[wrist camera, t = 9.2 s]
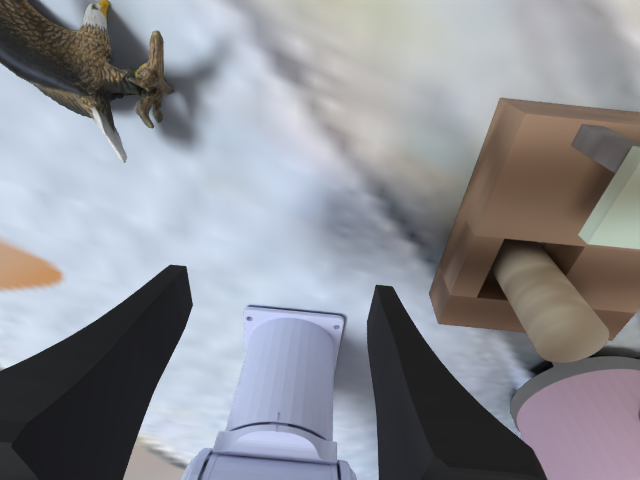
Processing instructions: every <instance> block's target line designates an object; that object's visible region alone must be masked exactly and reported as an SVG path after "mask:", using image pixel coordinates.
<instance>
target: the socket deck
mask: <svg viewBox="0 0 640 480" xmlns="http://www.w3.org/2000/svg"><path fill="white" fill-rule="evenodd" d="M504 239H514V240H524V241H534V242H545V243H544V245H543V247H542V248H543V249H544V250H545V252H546V253H547V254H548V255H549V257H550V258H551V259H552V260H553V262H554V263H555V264H556V265H557V266H558V268H559V269H560V270H561V271H562V273H563V274H564V275H565V276H566V278H567V279H568V280H569V281H570V282H571V284H572V285H573V286H574V287H575V289H576V290H577V291H578V292H579V294H580V295H581V296H582V297H583V298H584V300H585V301H586V302H587V303H588V305H589V306H590V307H591V308H592V310H593V311H594V312H595V313H596V315H597V316H598V317H599V318H600V319H601V321H602V322H603V323H604V324H605V326H606V327H607V328H608V330H609V339H608V340H610V341H612V340H613V339H614V338H615V336H616V335H617V334H618V333H619V332H620V331H621V329H622V328H623V327H624V326H625V325H626V324H627V322H628V321H629V320H630V319H631V318H632V317H633V316H634V314H635V313H636V312H637V311H638V310H639V309H640V113H639V112H629V111H619V110H610V109H600V108H591V107H581V106H572V105H562V104H553V103H543V102H534V101H524V100H515V99H505V98H500V100H499V102H498V105H497V108H496V111H495V113H494V116H493V119H492V122H491V124H490V127H489V130H488V133H487V135H486V138H485V141H484V144H483V146H482V149H481V152H480V155H479V157H478V160H477V163H476V166H475V168H474V171H473V174H472V177H471V179H470V182H469V185H468V188H467V190H466V193H465V196H464V199H463V201H462V204H461V207H460V210H459V212H458V215H457V218H456V221H455V223H454V226H453V229H452V232H451V234H450V237H449V240H448V243H447V245H446V248H445V251H444V254H443V256H442V259H441V262H440V265H439V267H438V270H437V273H436V275H435V278H434V281H433V284H432V286H431V289H430V292H429V295H430V298H431V302H432V305H433V308H434V312H435V315H436V318H437V321H438V324H444V325H454V326H465V327H475V328H486V329H496V330H506V331H517V332H526V331H525V329H524V328H523V326H522V324H521V322H520V320H519V319H518V317H517V315H516V313H515V312H514V310H513V308H512V306H511V304H510V303H509V301H508V299H507V297H506V295H505V294H504V292H503V290H502V288H501V286H500V285H499V283H498V281H497V279H496V277H495V276H494V274H493V272H492V271H490V268H491V266H492V264H493V262H494V260H495V258H496V256H497V254H498V252H499V249H500V247H501V245H502V243H503V241H504Z"/></svg>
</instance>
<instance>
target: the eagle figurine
mask: <svg viewBox="0 0 640 480" xmlns="http://www.w3.org/2000/svg"><path fill="white" fill-rule="evenodd" d="M109 5H110V2H109V1H107V0H102V1H100V2H98V3H96V4H93V3H92V4H90V5H89V6H88V7H87V9H86V12H85V15H84V18H83V22H82V25H81V28H80V29H79V30H78V31H72V30H67V29H65V28H63V27H61V26H59V25H57V24H54V23H52V22H51V21H49V20H48V19H46V18H45V17H43V16H42V15H41V14H40V13H39V12H37V11H36V10H35V9H34V8H33V7H32V6H31V5H30V4H29V3H28V1H27V0H0V63H1V64H3V65H4V66H5V67H7V68H8V69H9V70H10V71H12V72H13V73H15V74H16V75H17V76H19V77H20V78H22V79H24V80H26V81H28V82H30V83H31V84H33V85H34V86H36V87H37V88H38V89H39V90H40V91H41V92H43V93H44V94H45V95H46V96H48V97H51V98H52V100H54V101H56V102H58V104H60V105H62V106H65V107H66V108H67V109H69V110H71V111H74V112H75V113H77V114H81V115H82V116H87V117H89V118H93V120H94V121H95V122H96V123H97V125H98V126H99V127H100V129H101V130H102V132H103V133H104V135H105V136H106V137H107V139H108V140H109V142H110V144H111V145H112V147H113V148H114V150H115V151H116V153H117V154H118V156H119V158H120V159H121V161H122V162H124V163H125V162H126V159H127V156H126V153H125V151H124V149H123V146H122V142H121V139H120V136H119V134H118V132H117V130H116V128H115V126H114V121H113V116H112V112H111V106H110V101H112V100H115V99H116V98H123V97H124V96H127V95H142V96H141V98H140V99H139V100H138V101H137V103H136V105H135V112H136V113H137V114H138V115H139V116H140V118H141V119H142V120H143V122H144V123H145V124H146V126H147V127H149V128H154V125H153V123H152V121H151V120H150V118H149V110H150V108H151V106H153V116H154V118H155V119H156V121H157V122H158V123H160V122H161V121H162V120H163V115H162V113H161V111H160V108H161V99H162V95H164V94H172V93H173V88H172V87H170V86H169V85H167V84H166V80H165V78H164V77H163V72H164V61H163V38H162V36H161V34H160V32H159V31H154V32H152V35H151V38H150V49H149V56H150V58H149V60H148V61H147V63H145V64H143V65H142V66H140V67H139V69H136V68H130V67H129V68H126V69H123V70H121V69H119V68H117V67H114V66H113V60H112V48H111V43H110V39H109V35H108V31H107V15H106V14H107V10H108V7H109Z"/></svg>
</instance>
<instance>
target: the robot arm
mask: <svg viewBox="0 0 640 480" xmlns="http://www.w3.org/2000/svg"><path fill="white" fill-rule="evenodd" d="M192 306H193V303H192V297H191V291H190V285H189V279H188V273H187V268H186V266H179V265H169V266H168V267H167V268H165V269H164V270H163V271H161V272H160V273H159V274H158V275H156V276H155V277H154V278H153V279H151V280H150V281H149V282H148V283H146V284H145V285H144V286H143V287H141V288H140V289H139V290H138V291H136V292H135V293H134V294H132V295H131V296H130V297H128V298H127V299H126V300H124V301H123V302H122V303H120V304H119V305H117V306H116V307H115V308H113V309H112V310H110V311H109V312H108V313H106V314H105V315H103V316H102V317H100V318H99V319H97V320H96V321H94V322H93V323H91V324H90V325H88V326H87V327H85V328H83V329H82V330H80V331H78V332H77V333H75V334H73V335H71V336H70V337H68V338H66V339H64V340H63V341H61V342H59V343H57V344H55V345H53V346H51V347H49V348H47V349H46V350H44V351H42V352H40V353H38V354H36V355H34V356H32V357H30V358H28V359H26V360H24V361H21V362H19V363H17V364H15V365H13V366H11V367H8V368H6V369H4V370H2V371H0V480H123V477H124V474H125V471H126V468H127V465H128V462H129V459H130V455H131V453H132V449H133V447H134V444H135V441H136V438H137V436H138V433H139V430H140V427H141V424H142V422H143V419H144V416H145V414H146V411H147V408H148V406H149V403H150V400H151V398H152V395H153V393H154V391H155V388H156V386H157V384H158V382H159V380H160V378H161V376H162V374H163V372H164V370H165V368H166V366H167V364H168V362H169V360H170V358H171V356H172V354H173V352H174V350H175V348H176V346H177V344H178V342H179V340H180V338H181V336H182V333H183V331H184V329H185V327H186V324H187V321H188V318H189V315H190V312H191V309H192ZM243 320H244V339H245V358H244V362H243V366H242V370H241V373H240V377H239V381H238V385H237V388H236V392H235V396H234V400H233V404H232V407H231V411H230V415H229V419H228V423H227V426H226V430H225V431H219V432H218V434H217V438H216V441H215V445H214V448H204V449H203V450H201V451H200V452H199V454H198V455H197V456H196V457H195V458H193V459H192V460H191V462H190V463H189V464H188V466H187V468H186V470H185V472H184V474H183V476H182V479H181V480H357V478H356V475H355V473H354V472H353V470H352V469H351V468H350V466H349V464H348V462H347V461H344V460H338V461H337V443H336V442H333V380H334V373H335V368H336V362H337V357H338V351H339V346H340V341H341V335H342V330H343V325H344V318H343V317H342V316H339V315H330V314H320V313H309V312H299V311H289V310H278V309H268V308H258V307H246V308H245V309H244V312H243ZM336 325H338V326H336ZM367 344H368V354H369V361H370V368H371V375H372V382H373V389H374V396H375V404H376V414H377V436H378V465H379V480H548V479H547V477H546V475H545V472H544V470H543V468H542V466H541V463H540V462H539V460H538V458H537V456H536V454H535V452H534V450H533V449H532V448H531V447H530V446H529V445H527V444H526V443H525V442H524V441H523V440H521V439H520V438H519V437H518V436H516V435H515V434H514V433H513V432H511V431H510V430H509V429H508V428H506V427H505V426H504V425H503V424H502V423H500V422H499V421H498V420H497V419H496V418H495V417H494V416H493V415H492V414H490V413H489V412H488V411H487V410H486V409H485V408H484V407H483V406H482V405H481V404H480V403H479V402H478V401H477V400H476V399H475V398H474V397H473V396H472V395H471V394H470V393H469V392H468V391H467V390H466V389H465V388H464V387H463V386H462V385H461V384H460V383H459V382H458V381H457V380H456V379H455V378H454V376H453V375H452V374H451V373H450V372H449V371H448V369H447V368H446V367H445V366H444V365H443V364H442V362H441V361H440V360H439V359H438V357H437V356H436V355H435V353H434V352H433V351H432V349H431V348H430V347H429V345H428V344H427V342H426V341H425V340H424V338H423V337H422V335H421V334H420V332H419V331H418V329H417V328H416V326H415V324H414V323H413V321H412V320H411V318H410V316H409V315H408V313H407V311H406V310H405V308H404V306H403V304H402V303H401V301H400V299H399V297H398V295H397V294H396V292H395V290H394V288H393V287H392V286H384V285H376V287H375V291H374V295H373V299H372V303H371V307H370V312H369V316H368V320H367Z"/></svg>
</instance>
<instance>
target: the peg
mask: <svg viewBox="0 0 640 480" xmlns="http://www.w3.org/2000/svg"><path fill="white" fill-rule="evenodd" d="M491 270H492V272H493V274H494V276H495V277H496V279H497V281H498V283H499V285H500V286H501V288H502V290H503V292H504V294H505V295H506V297H507V299H508V301H509V303H510V304H511V306H512V308H513V310H514V312H515V313H516V315H517V317H518V319H519V320H520V322H521V324H522V326H523V328H524V329H525V331H526V333H527V335H528V337H529V338H530V340H531V342H532V344H533V346H534V347H535V349H536V351H537V353H538V354H539V356H540V357H542V358H543V359H545V360H547V361H550V362H556V363H567V362H574V361H578V360H581V359H584V358H587V357H589V356H591V355H593V354H595V353H596V352H598V351H599V350H600V349H601V348H602V347H603V346H604V345H605V344H606V343H607V341H608V339H609V330H608V328H607V327H606V326H605V324H604V323H603V322H602V321H601V319H600V318H599V317H598V316H597V315H596V313H595V312H594V311H593V310H592V308H591V307H590V306H589V305H588V303H587V302H586V301H585V300H584V298H583V297H582V296H581V295H580V294H579V292H578V291H577V290H576V289H575V287H574V286H573V285H572V284H571V282H570V281H569V280H568V279H567V278H566V276H565V275H564V274H563V273H562V271H561V270H560V269H559V268H558V266H557V265H556V264H555V263H554V262H553V260H552V259H551V258H550V257H549V255H548V254H547V253H546V252H545V250H544V249H543V248H542V247H541V246H540V244H539V243H538V242H534V241H524V240H514V239H504V241H503V243H502V245H501V247H500V249H499V252H498V254H497V256H496V258H495V260H494V262H493V264H492V266H491Z"/></svg>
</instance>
